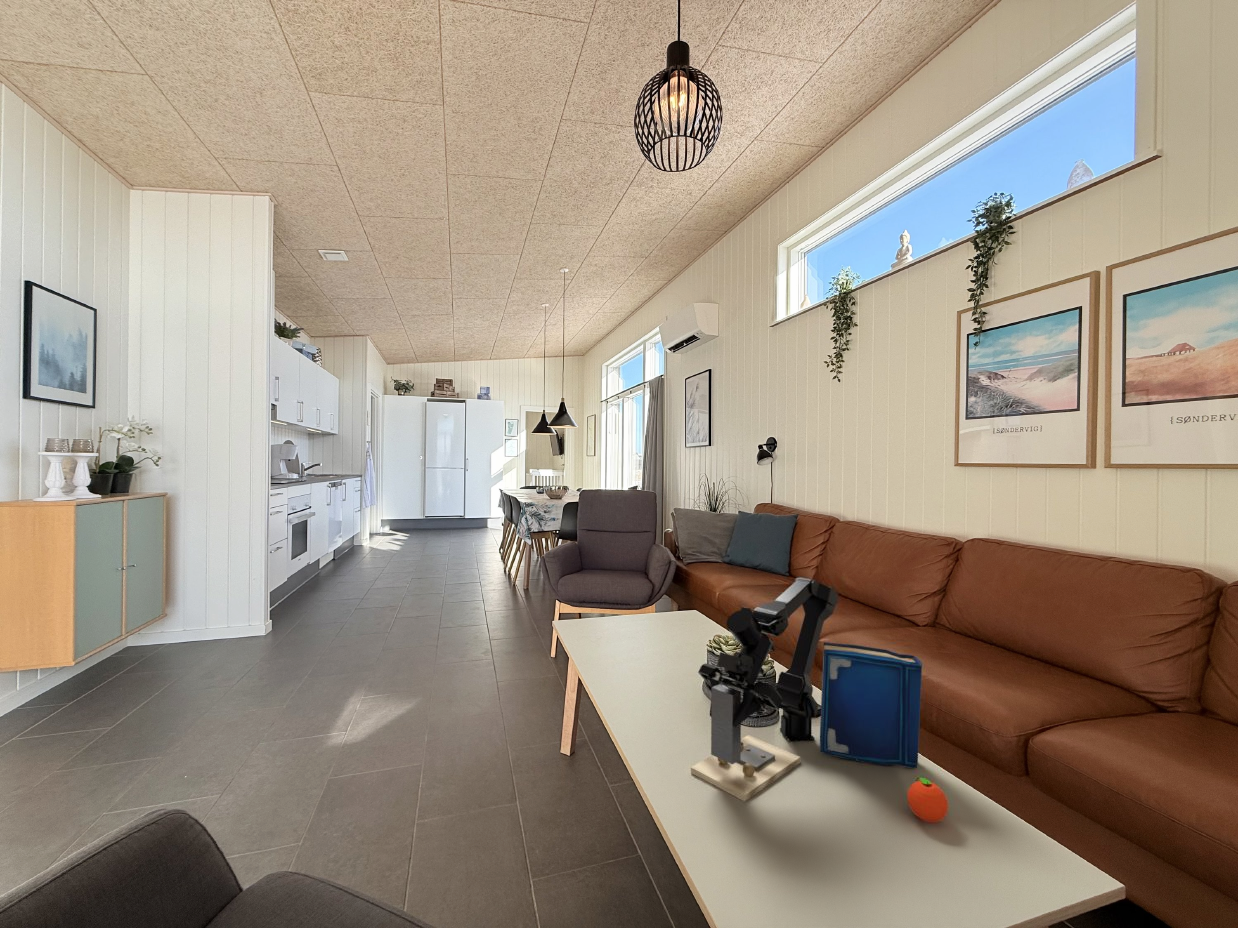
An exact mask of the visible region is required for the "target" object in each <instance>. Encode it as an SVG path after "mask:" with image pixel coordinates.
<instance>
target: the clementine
mask: <svg viewBox="0 0 1238 928" xmlns="http://www.w3.org/2000/svg"><path fill="white" fill-rule="evenodd" d="M906 796H907V803H908V806H909V808H910V810H911V811H912V813H913V814H914V815H915V816H917V817H918V818H919V819H920V820H922V821H924V822H928V823H938V822H940V821H942V820H943V819H945V818H946V816H947V814H948V811H949V802H948V798H947V797H946V793H944V791H943V790H942V788H941V787H939V786H938V785H937V784H936V783H934V782H932V781H930V780H928V779H927V778H924V777H917V778H916V779H915V781H914V782H913V783H912V784H911V785H910V786H909V789H908V790H907V794H906Z"/></svg>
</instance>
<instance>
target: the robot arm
mask: <svg viewBox="0 0 1238 928" xmlns="http://www.w3.org/2000/svg"><path fill="white" fill-rule="evenodd" d="M838 602H839V594H838V592H836V590H835V588H834V587H833V586H827V585H824V584H822V583H820V582H819V581H817V580H816V579H814V578H807V577H802V576H800V577H796V578H795V579H794V582H793V583H792V584H791V585H790V586H789V587H788V588H786V589H785V591H784V592H782V593H781V594H780V595H779V596H777V598H776V599H775V600H773V601H769V602H764V603H762V604H760V605H758V606H757V607H755V608H754V610H752V608H750V607H747V606H742V607H741V609H740V610H736V611H734V612H733V613H731V615H729V616H728V617H727V619H726V627H727V629H728V630H729V632H730V633H731V635H732V636H733V637H734V638H735V640H736V641H737V643H739V645H741V648H740V650H739V651H735V652H734V653H733V655H732V654H729V653H725V652H723V651H720V652H719V655H718V659H717V663H716V666H715V665H712V664H709V663H703V664H701V666H700V668H699V670H698V672H697V673H698V674H699V675H700V677H701V678H702V679H703V680H704V681H705V682H706V684H707V685H709V686H710V687H711V688H712V687H714V686H716V685H718V684H722V685H724V686H727V687H730V688H733V689H736V690H738V691H741V692H742V699H741V704H740V707H739V709H738V711H737V713H736V715H735V717H734V720H733V723H732V725H733V726H734V727H737V726H738V725H739V724H740V723H741V724H742V723H743V722H744V721H746V720H747V718H749V717H750V716H752V715H753V714H756V712H758V711H760V710H761V709H762V710H765V709H766V707H768V708H771V709H773V710H776V711H778V710H780V709H781V710H782V714H781V716H780V728H779V731H780V732H781V733H782V735H784V737H785V738H786V739H787V740H788V741H789V742H791V743H794V742H795V743H796V742H808V741H815V736H813V735H812V725H813V723H812V720H813V719H812V718H816V716H817V714H818V711H819V704H818V702H817V701H816V699H815V698H814V696H813V690H814V687H813V685H812V681H811V680H812V679H811V678H810V677H811V676H810V675H811V671H812V667H813V663H814V659H815V657H816V656H815V655H816V652H817V649H818V645H819V642H820V641H819V640H820V637H821V634H822V630H823V625H824V624H825V623H824V622H825V621H826V620H828V618H829V617H831V616H832V615H833V614H834V611H835V608H836V606H837V605H838ZM801 606H802V609H803V612H804V616H803V620H802V624H801V628H800V630H799V634H798V637H797V642H796V644H795V645H796V646H795V648H794V652H793V656H792V659H791V663H790V667H789V668H788V669H787V670H786V671H780V673H778V674H779V675H778V678H777V679H778V680H777V683H776V685H775V686H774V685H772V684H769V683H766V682H763V681H760V680H758V681H757V679H758V677H759V675H764V672H765V670H764V669H763V666H764V664H765V662H766V659H767V658H768V655H769V654H770V653H769V652H775V651H776V650H775V649H776V648H775V644H774V640H773V639H772V638H769V636H768V635H770V636H775V637H780V636H782V635H783V634H784V632H785V631H786V630H787V628H788V627H789V618H791V617H790V616H791V615H793V613H795V612H796V611H797V610H798V609H799V608H800V607H801ZM719 668H724V669H723V672H724V673H726V674H727V675H726V674H724V673H723V672H722V670H720V669H719ZM709 709H710V710H709V717H711V705H710V707H709Z"/></svg>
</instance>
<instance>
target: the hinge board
mask: <svg viewBox="0 0 1238 928" xmlns="http://www.w3.org/2000/svg"><path fill="white" fill-rule="evenodd" d="M741 742H742V743H743V744H744V749H743V751H742V752H741V760H739V761H737V762H736V763H734V764H733V765H732V764H730V763H728V762H726V761H724V760H722V759H719V758H717V757H715V756H713V755H710V756H708V757H707V758H704V759H703V760H701V761H699V762H698V763H696V764H694V765H693V766H690V774H692V775H694V776H696V777H698V778H700V779H701V780H704V781H706V782H707V783H710V784H711V785H713V786H715V787H717V788H719V789H721V790H722V791H725V792H727V793H729V794H730V795H733V796H734V797H736V798H738V799H739V800H741V801H743V802H746V801H747V800H748V799H750V798H752V797H753V796H754V795H756V794H757V793H759V792H760V791H762V790H763V789H764V788H766V787H767V786H769V785H770V784H771V783H773V782H774V781H776V780H777V779H778V778H780V777H781V776H783V775H784V774H785V773H787V772H788V771H790V770H792V769H793V768H794V767H796V766H797V765H799V764H800V763H801V756H800V755H796V754H794V753H792V752H789V751H787V750H785V749H782V748H780V747H777V746H775V745H773V744H770V743H768V742H766V741H763V740H761V739H759V738H756V737H754V736H752V735H749V734H747V735H746V736H744V737H742V738H741Z"/></svg>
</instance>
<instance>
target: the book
mask: <svg viewBox="0 0 1238 928" xmlns="http://www.w3.org/2000/svg"><path fill="white" fill-rule="evenodd" d="M822 651H823V655H822V677H821V678H822V679H821V696H820V697H821V701H820V703H821V704H820V724H819V725H820V726H819V753H820V754H825V755H829V756H834V757H839V758H842V759H846V760H850V761H855V762H860V761H861V763H866V762H867V764H873V765H878V764H879V765H880V766H884V765H886V766H896V765H898V766H900V767H904V768H907V769H908V768H909V769H917V767H918V763H919V743H920V723H921V722H920V720H921V718H920V717H921V698H922V697H921V695H922V676H923V675H922V674H923V673H922V672H923V671H922V670H923V663H922V661H921V660H920V659H919V658H918V657H917V656H914V655H911V654H903V653H902V654H901V653H897V652H894V651H891V650H888V649H885V648H884V649H883V648H878V647H872V646H871V647H870V646H865V645H864V646H863V645H858V644H857V645H856V644H849V643H837V642H836V643H835V642H823V650H822ZM879 765H878V766H879Z"/></svg>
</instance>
